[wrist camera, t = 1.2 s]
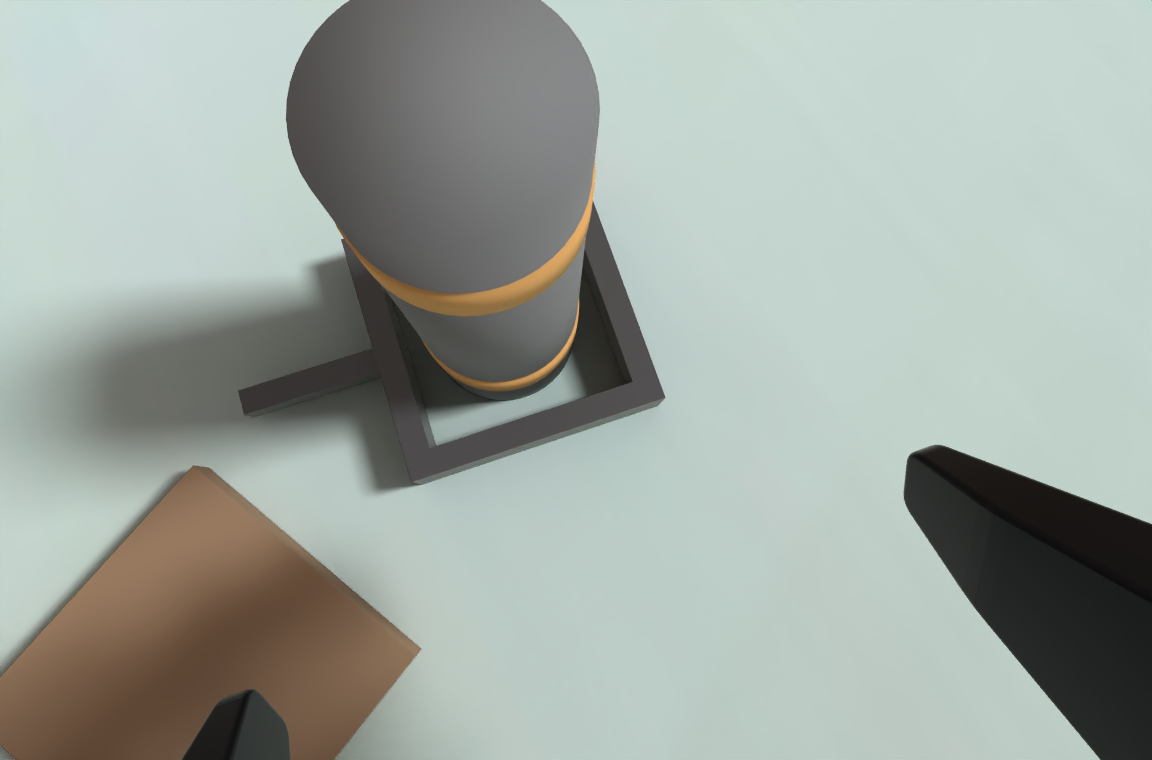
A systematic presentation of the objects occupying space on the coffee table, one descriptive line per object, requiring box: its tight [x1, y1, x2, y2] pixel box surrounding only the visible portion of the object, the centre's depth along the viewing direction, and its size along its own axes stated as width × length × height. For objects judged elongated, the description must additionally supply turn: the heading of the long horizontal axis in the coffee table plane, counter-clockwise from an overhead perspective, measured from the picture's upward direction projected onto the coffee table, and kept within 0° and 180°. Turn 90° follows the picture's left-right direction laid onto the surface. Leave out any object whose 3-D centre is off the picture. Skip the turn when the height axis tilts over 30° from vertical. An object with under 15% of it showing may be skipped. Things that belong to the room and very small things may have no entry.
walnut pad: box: [0, 466, 421, 760], centre depth 20 cm, size 9×9×1 cm
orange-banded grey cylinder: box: [286, 0, 600, 400], centre depth 17 cm, size 5×5×13 cm
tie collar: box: [238, 202, 665, 485], centre depth 22 cm, size 8×13×2 cm, turn 109°
